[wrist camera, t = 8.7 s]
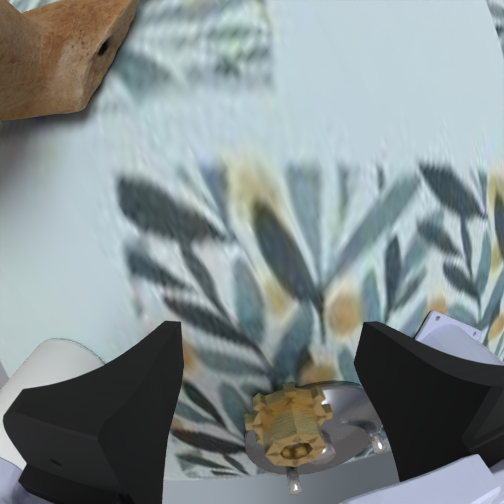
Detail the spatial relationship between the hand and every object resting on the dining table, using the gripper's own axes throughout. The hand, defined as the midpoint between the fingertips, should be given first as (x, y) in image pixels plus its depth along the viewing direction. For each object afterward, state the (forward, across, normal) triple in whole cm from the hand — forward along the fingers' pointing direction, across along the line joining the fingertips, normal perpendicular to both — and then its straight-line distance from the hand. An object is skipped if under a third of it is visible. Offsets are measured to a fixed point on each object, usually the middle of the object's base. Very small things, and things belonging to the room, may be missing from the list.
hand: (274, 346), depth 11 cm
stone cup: (+10, +17, -15) cm, 25 cm away
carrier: (+10, -7, +17) cm, 21 cm away
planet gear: (+9, -4, +13) cm, 16 cm away
